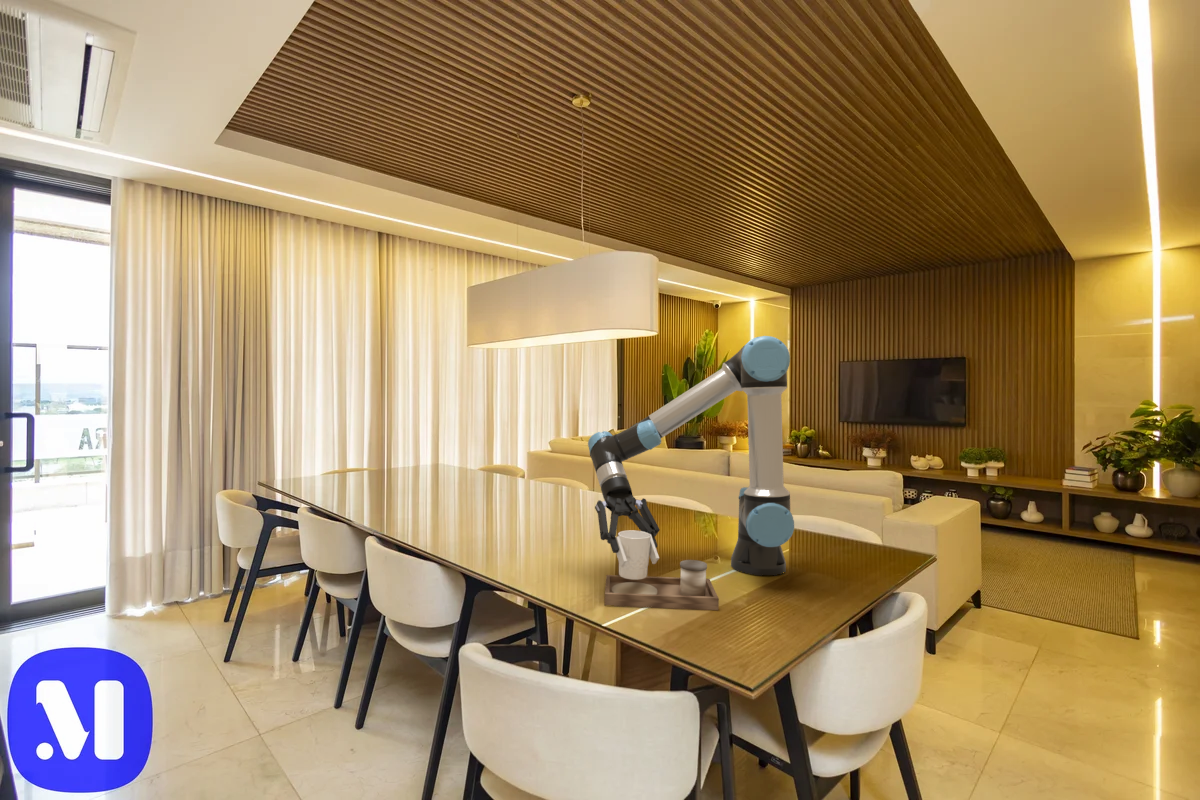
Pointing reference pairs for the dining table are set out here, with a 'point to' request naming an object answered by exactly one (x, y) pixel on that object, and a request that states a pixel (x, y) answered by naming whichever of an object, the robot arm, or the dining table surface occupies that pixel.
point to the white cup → (635, 554)
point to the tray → (665, 590)
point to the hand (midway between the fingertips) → (639, 562)
